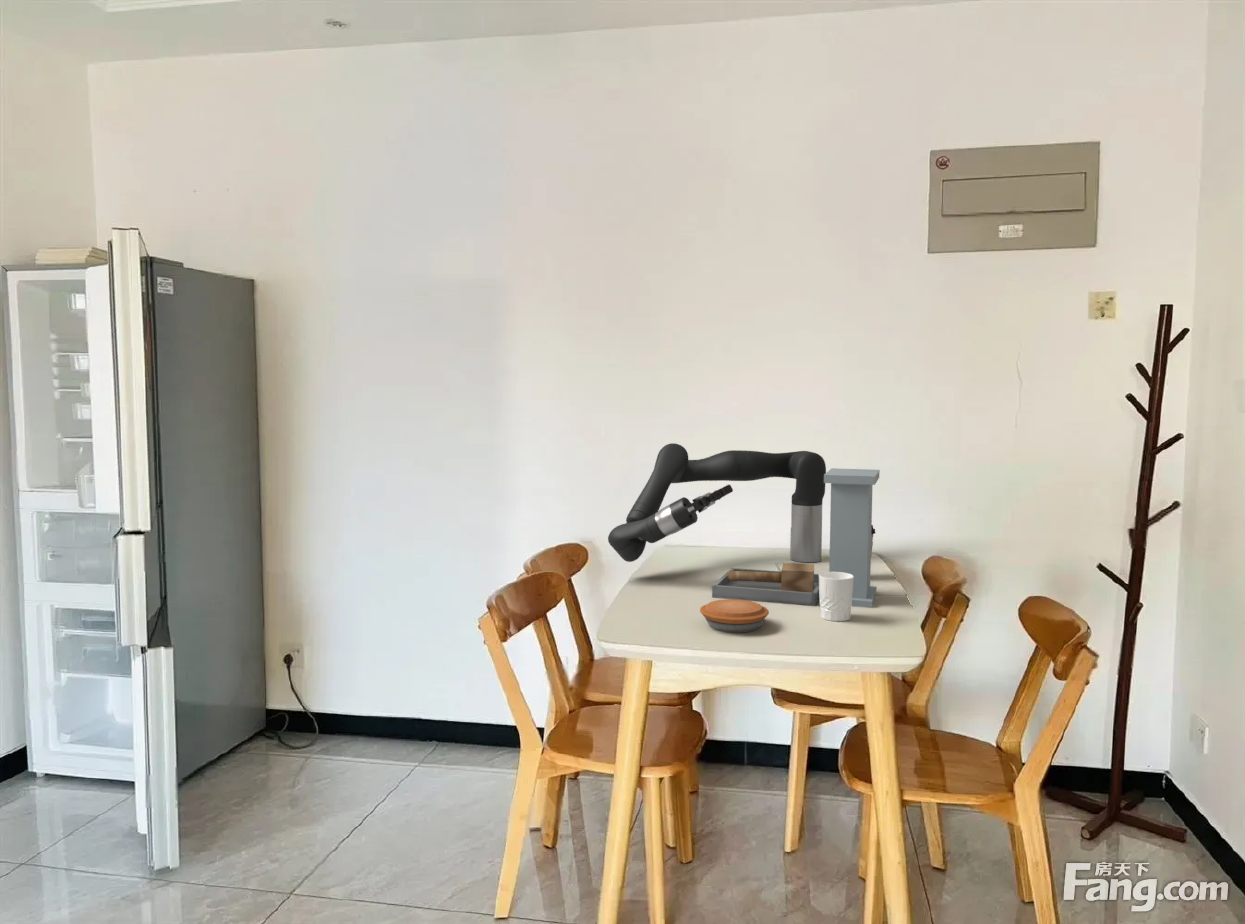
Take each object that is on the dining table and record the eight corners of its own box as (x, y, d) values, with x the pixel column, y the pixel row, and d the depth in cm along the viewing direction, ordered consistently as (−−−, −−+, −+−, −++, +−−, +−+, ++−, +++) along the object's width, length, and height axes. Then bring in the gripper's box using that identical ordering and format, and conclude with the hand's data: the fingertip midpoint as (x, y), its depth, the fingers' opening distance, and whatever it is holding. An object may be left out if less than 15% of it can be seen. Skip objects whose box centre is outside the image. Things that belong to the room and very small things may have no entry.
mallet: (726, 590, 225) (726, 567, 225) (730, 582, 234) (730, 560, 233) (813, 595, 220) (813, 571, 220) (813, 586, 229) (814, 564, 228)
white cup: (854, 614, 205) (855, 573, 204) (851, 623, 198) (852, 580, 197) (820, 611, 207) (820, 570, 207) (816, 620, 200) (816, 577, 199)
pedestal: (821, 603, 215) (823, 474, 212) (829, 588, 230) (831, 468, 227) (871, 607, 211) (875, 476, 208) (876, 592, 226) (879, 469, 223)
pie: (780, 632, 191) (781, 610, 191) (715, 638, 187) (715, 615, 187) (751, 614, 206) (751, 593, 206) (690, 619, 202) (690, 598, 201)
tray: (712, 597, 222) (712, 585, 221) (731, 578, 242) (731, 567, 242) (815, 606, 213) (815, 594, 212) (826, 585, 233) (827, 574, 233)
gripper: (661, 508, 228) (714, 479, 222) (676, 501, 241) (727, 474, 236) (675, 533, 227) (728, 505, 222) (689, 525, 240) (740, 498, 235)
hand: (727, 489), depth 229 cm, fingers open, 8 cm apart
